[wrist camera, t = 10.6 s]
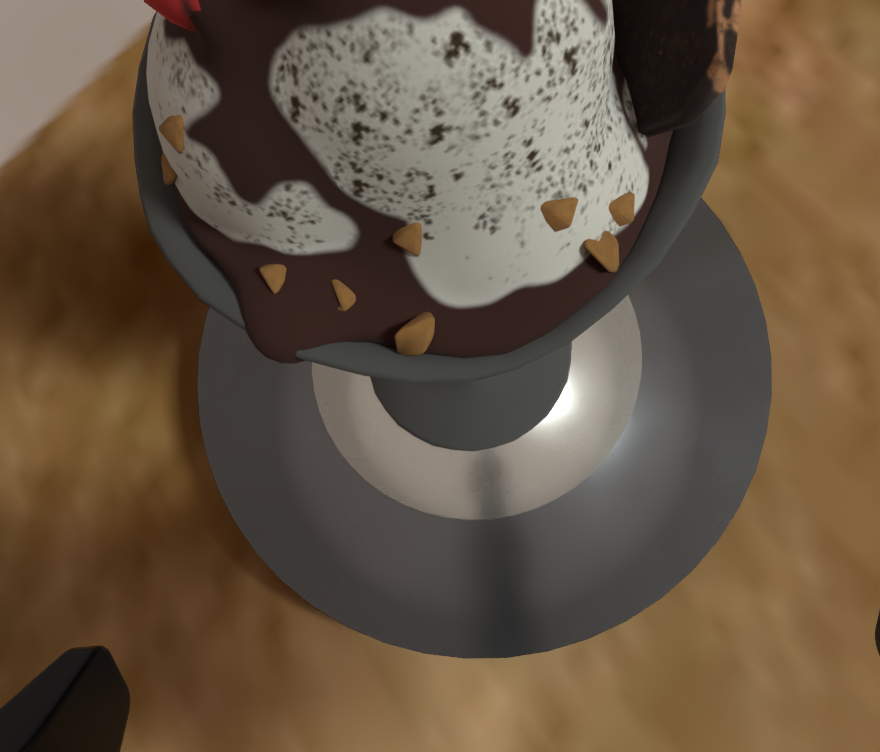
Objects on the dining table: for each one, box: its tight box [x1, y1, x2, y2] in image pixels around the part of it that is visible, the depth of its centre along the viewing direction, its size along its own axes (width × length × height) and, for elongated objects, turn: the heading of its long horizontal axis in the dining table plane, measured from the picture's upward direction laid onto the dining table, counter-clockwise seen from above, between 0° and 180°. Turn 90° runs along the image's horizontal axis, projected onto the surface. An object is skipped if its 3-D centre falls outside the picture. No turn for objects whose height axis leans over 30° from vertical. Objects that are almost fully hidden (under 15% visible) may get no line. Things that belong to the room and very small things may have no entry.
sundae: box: [133, 0, 741, 451], centre depth 11 cm, size 7×7×15 cm
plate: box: [197, 198, 772, 658], centre depth 18 cm, size 14×14×3 cm
